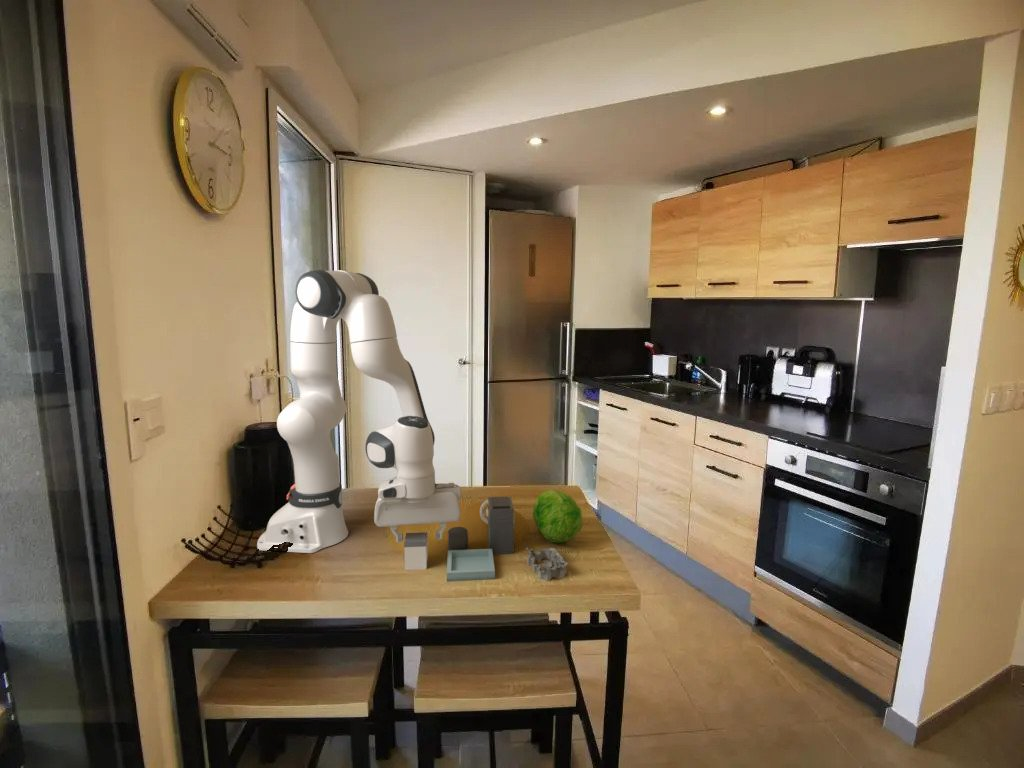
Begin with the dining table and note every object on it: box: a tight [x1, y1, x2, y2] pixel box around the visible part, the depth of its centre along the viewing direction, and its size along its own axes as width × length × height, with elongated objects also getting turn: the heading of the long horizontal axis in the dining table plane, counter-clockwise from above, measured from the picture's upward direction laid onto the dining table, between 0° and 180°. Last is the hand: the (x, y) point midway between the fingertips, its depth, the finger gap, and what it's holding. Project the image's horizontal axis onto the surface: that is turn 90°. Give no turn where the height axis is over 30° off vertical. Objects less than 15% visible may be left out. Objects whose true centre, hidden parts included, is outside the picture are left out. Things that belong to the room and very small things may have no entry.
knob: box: [447, 526, 469, 551], centre depth 134 cm, size 5×5×5 cm
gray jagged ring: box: [525, 547, 569, 582], centre depth 124 cm, size 11×8×4 cm
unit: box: [487, 496, 515, 555], centre depth 135 cm, size 6×8×12 cm
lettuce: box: [532, 489, 584, 544], centre depth 142 cm, size 13×23×12 cm, turn 5°
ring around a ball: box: [479, 499, 488, 525], centre depth 147 cm, size 8×6×8 cm
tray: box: [446, 548, 496, 582], centre depth 124 cm, size 11×11×2 cm
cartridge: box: [403, 531, 429, 571], centre depth 126 cm, size 5×5×7 cm
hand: (419, 539), depth 125 cm, fingers open, 8 cm apart
